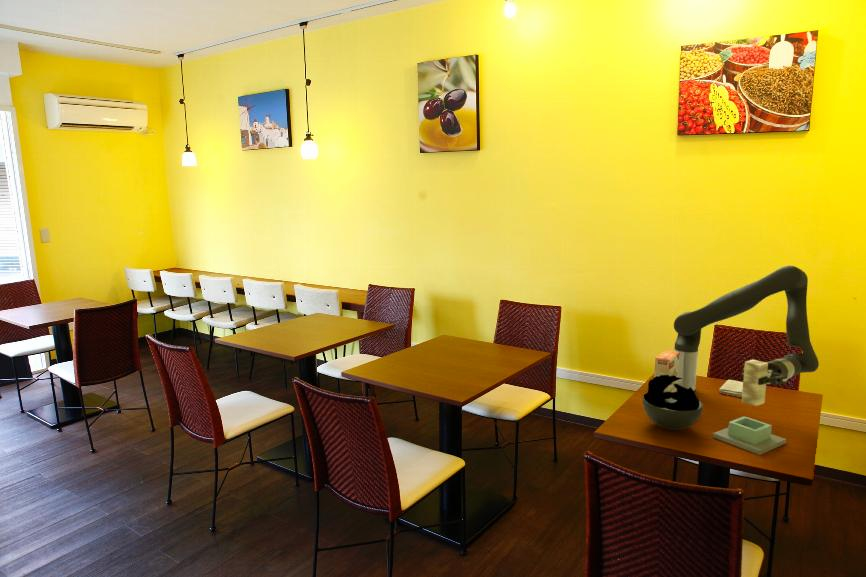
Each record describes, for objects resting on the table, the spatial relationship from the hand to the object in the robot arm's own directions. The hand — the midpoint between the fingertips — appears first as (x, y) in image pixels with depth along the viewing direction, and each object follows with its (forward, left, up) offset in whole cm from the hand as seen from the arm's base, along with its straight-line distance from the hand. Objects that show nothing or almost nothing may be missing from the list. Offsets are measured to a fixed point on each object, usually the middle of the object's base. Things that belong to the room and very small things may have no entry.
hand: (750, 379), depth 190 cm
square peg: (0, +3, -9) cm, 9 cm away
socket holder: (0, +2, -22) cm, 22 cm away
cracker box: (-36, +6, -22) cm, 43 cm away
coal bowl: (-21, -11, -22) cm, 32 cm away
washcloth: (-30, +47, -23) cm, 60 cm away
